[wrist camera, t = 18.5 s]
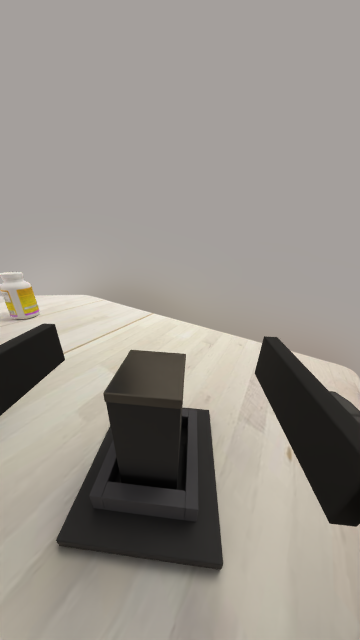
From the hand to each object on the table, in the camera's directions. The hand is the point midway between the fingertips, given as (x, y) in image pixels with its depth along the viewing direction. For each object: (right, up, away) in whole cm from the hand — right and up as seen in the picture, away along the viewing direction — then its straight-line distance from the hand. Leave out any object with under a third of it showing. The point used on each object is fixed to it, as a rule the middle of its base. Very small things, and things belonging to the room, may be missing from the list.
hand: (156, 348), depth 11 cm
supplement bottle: (-46, +3, +41) cm, 61 cm away
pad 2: (-1, -13, +7) cm, 15 cm away
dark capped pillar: (-1, -12, +6) cm, 14 cm away
